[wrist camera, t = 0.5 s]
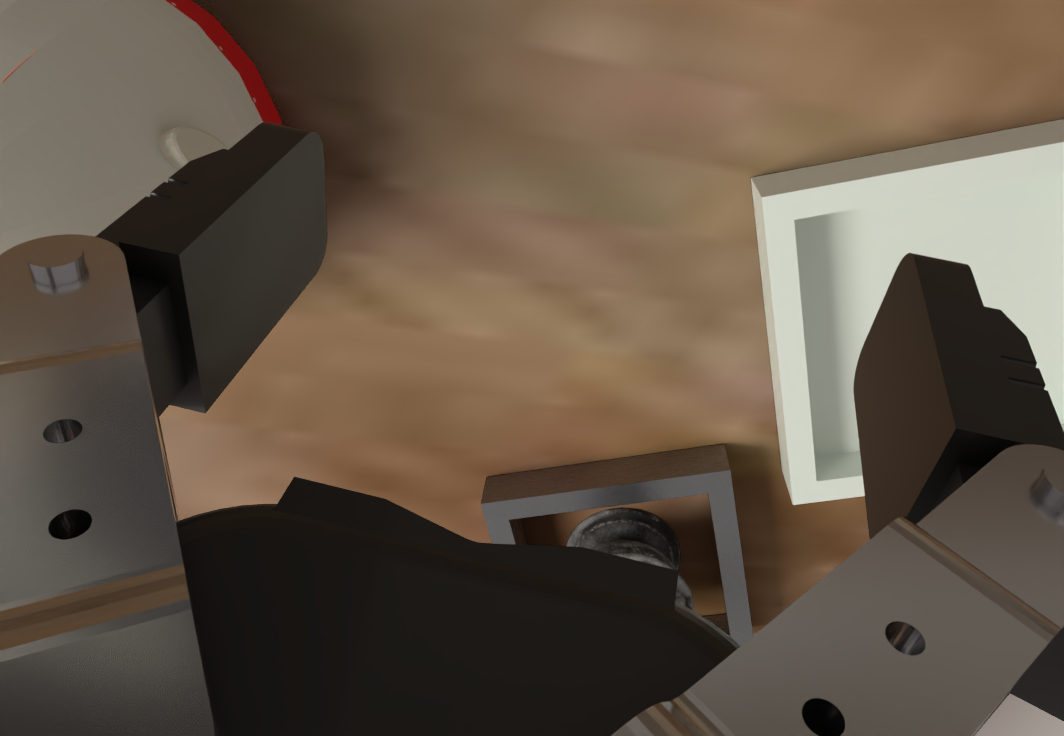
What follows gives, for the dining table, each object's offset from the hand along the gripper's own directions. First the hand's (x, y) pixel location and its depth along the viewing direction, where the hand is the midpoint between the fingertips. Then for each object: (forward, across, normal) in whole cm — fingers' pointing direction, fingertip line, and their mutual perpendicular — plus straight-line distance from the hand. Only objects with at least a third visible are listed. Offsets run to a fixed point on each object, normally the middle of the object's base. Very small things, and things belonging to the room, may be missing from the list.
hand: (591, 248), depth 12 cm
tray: (+20, -12, +12) cm, 26 cm away
